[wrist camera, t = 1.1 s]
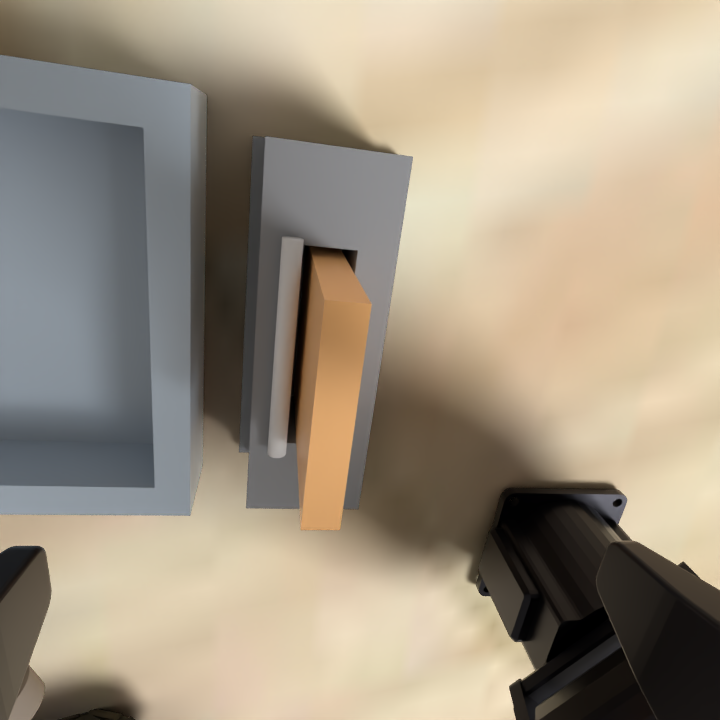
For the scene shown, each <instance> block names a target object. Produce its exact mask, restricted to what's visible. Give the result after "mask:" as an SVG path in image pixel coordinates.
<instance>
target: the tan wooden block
mask: <svg viewBox="0 0 720 720" xmlns="http://www.w3.org/2000/svg"><path fill="white" fill-rule="evenodd" d="M371 306H372V304H371V302H370V300H369V298H368V297H367V295H366V293H365V291H364V290H363V288H362V286H361V284H360V283H359V281H358V279H357V277H356V276H355V274H354V272H353V270H352V268H351V267H350V265H349V263H348V261H347V260H346V258H345V256H344V254H343V253H342V251H341V249H338V248H329V247H319V246H309V245H306V251H305V263H304V274H303V286H302V298H301V309H300V321H299V332H298V344H297V356H296V367H295V379H294V407H295V427H296V447H297V467H298V487H299V507H300V527H301V530H340V526H341V519H342V512H343V505H344V498H345V491H346V484H347V476H348V469H349V462H350V455H351V448H352V441H353V434H354V427H355V420H356V412H357V405H358V398H359V391H360V384H361V377H362V370H363V363H364V356H365V349H366V341H367V334H368V327H369V320H370V313H371Z"/></svg>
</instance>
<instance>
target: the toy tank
mask: <svg viewBox="0 0 720 720" xmlns="http://www.w3.org/2000/svg"><path fill="white" fill-rule="evenodd" d="M59 720H135V719H134V718H133V717H131V716H130V718H128V717H125V716H123V715H122V714H120V713H115V712H110V711H105V710H100V709H94V710H90V711H89V713H84V714H81V715H80V714H76V715H73V716H69V717H66V718H62V719H59Z"/></svg>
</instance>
